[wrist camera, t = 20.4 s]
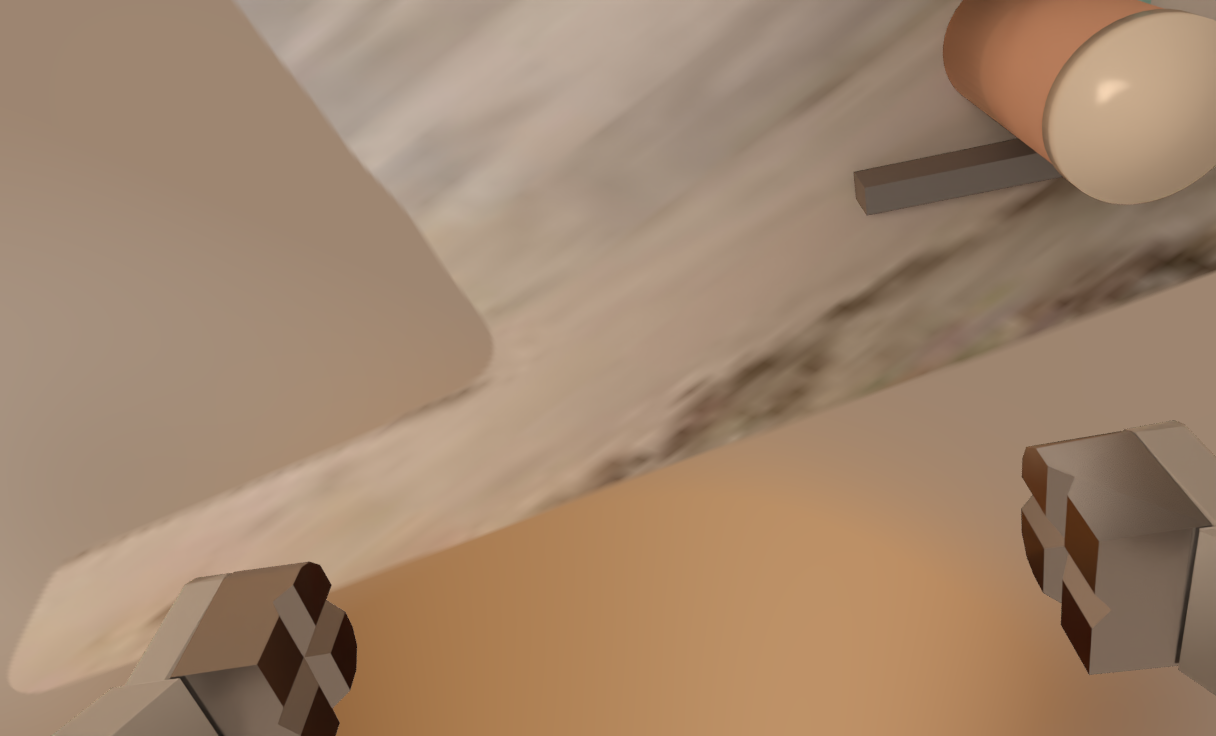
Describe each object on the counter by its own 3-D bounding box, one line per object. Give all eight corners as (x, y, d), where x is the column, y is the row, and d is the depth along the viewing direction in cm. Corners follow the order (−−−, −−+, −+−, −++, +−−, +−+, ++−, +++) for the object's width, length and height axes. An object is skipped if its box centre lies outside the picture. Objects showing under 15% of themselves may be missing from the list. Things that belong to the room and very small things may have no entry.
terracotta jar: (937, -17, 34) (1058, 40, 25) (1085, -51, 33) (1267, -7, 24) (942, 122, 37) (1053, 220, 27) (1079, 93, 36) (1241, 183, 27)
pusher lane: (855, 198, 38) (885, 243, 34) (833, -63, 33) (864, -48, 29) (1444, 80, 36) (1557, 113, 31) (1520, -226, 30) (1667, -236, 26)
